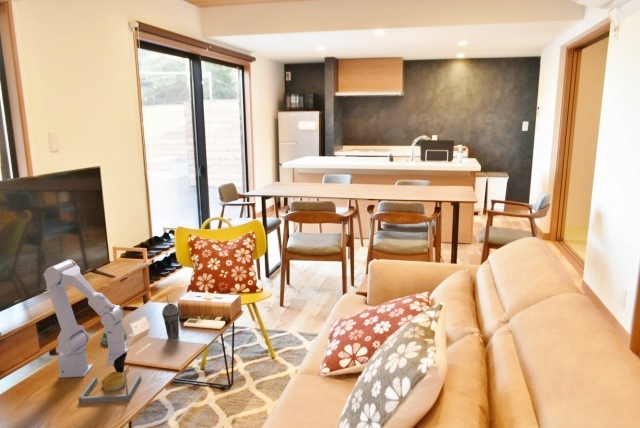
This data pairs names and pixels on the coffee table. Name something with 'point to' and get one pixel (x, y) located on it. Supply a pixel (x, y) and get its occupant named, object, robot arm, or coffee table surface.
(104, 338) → the decorative artifact
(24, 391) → the coffee table surface
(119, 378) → the bread roll
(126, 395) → the frame
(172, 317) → the beverage cup
